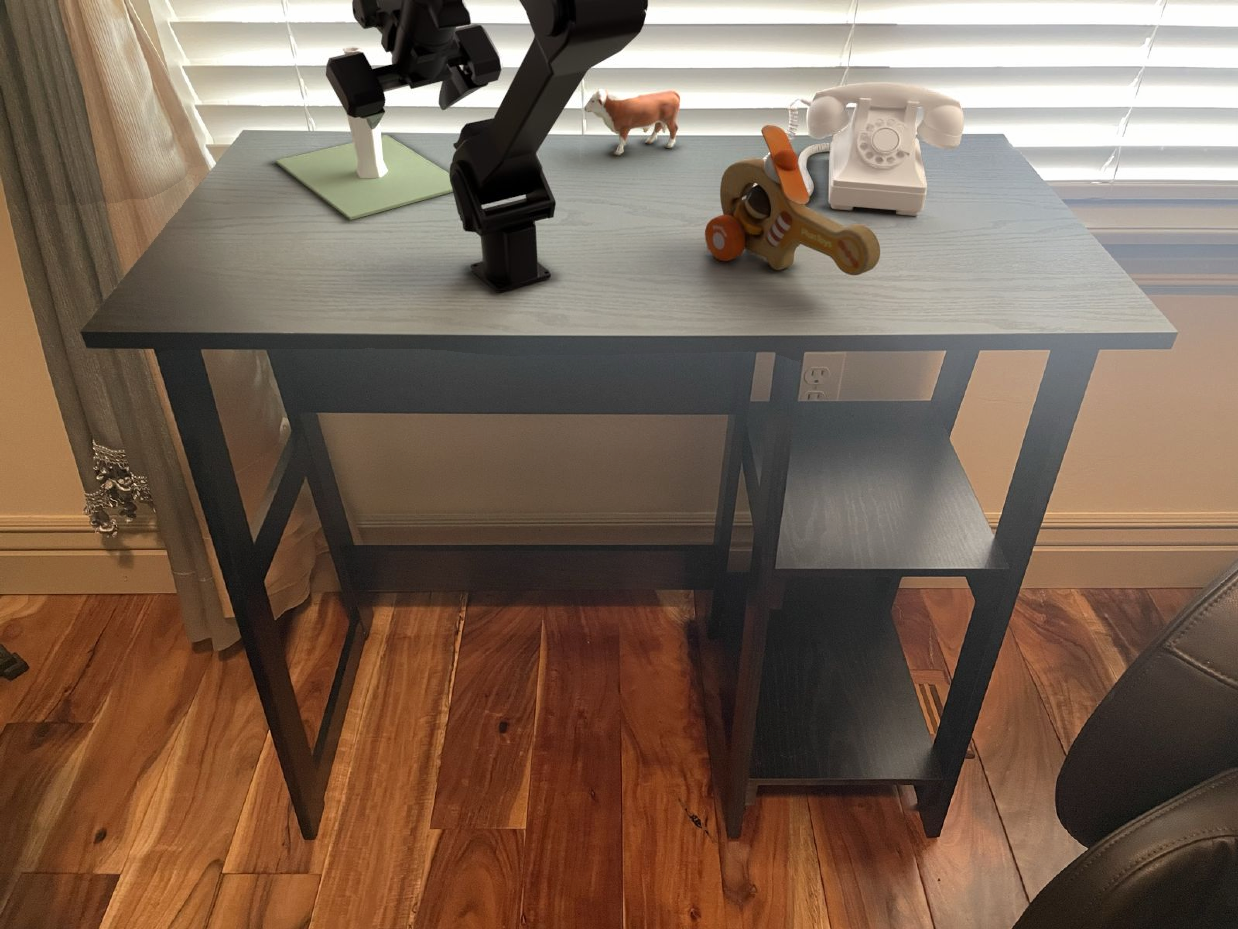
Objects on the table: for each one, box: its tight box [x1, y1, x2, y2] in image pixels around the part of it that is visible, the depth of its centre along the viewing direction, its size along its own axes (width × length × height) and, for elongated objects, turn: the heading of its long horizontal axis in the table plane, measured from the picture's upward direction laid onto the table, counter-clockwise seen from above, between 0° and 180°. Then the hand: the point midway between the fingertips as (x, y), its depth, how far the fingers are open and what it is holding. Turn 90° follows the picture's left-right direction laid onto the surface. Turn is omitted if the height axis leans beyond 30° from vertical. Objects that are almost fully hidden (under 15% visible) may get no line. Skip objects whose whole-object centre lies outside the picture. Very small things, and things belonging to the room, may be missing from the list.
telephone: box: [753, 81, 965, 217], centre depth 116 cm, size 25×21×12 cm
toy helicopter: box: [704, 124, 881, 276], centre depth 96 cm, size 8×21×14 cm, turn 39°
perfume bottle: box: [342, 46, 387, 178], centre depth 114 cm, size 5×4×15 cm
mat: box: [275, 134, 453, 221], centre depth 119 cm, size 22×16×1 cm
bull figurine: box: [583, 88, 681, 156], centre depth 125 cm, size 4×13×8 cm, turn 107°
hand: (406, 116), depth 109 cm, fingers open, 9 cm apart
